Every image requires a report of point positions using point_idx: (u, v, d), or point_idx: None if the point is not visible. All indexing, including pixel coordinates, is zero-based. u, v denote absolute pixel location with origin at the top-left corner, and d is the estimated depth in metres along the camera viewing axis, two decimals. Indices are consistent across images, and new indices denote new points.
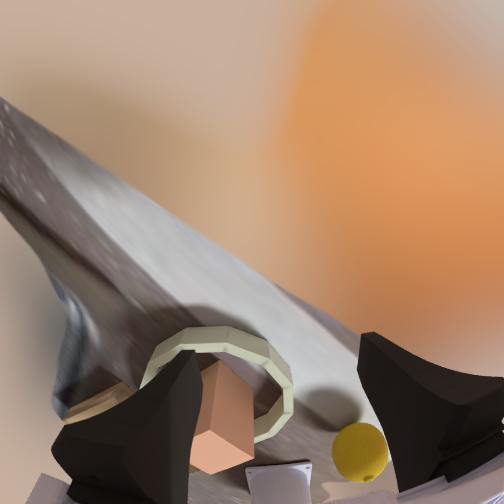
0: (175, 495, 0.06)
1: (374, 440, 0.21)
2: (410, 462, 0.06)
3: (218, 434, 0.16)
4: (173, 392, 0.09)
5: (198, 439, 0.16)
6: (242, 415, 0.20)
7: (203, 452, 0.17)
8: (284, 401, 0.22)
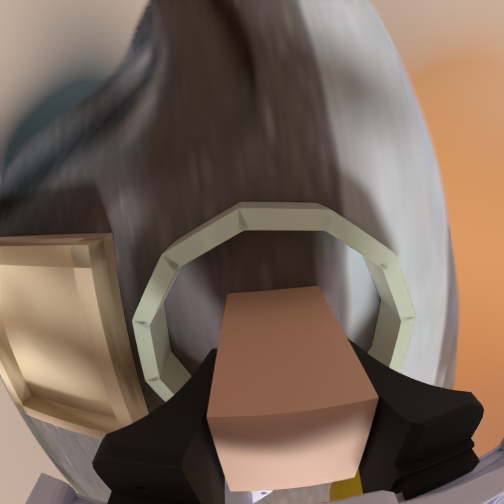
0: (217, 498, 0.06)
1: None
2: (373, 474, 0.06)
3: (372, 414, 0.07)
4: None
5: (325, 415, 0.06)
6: None
7: (291, 449, 0.07)
8: None
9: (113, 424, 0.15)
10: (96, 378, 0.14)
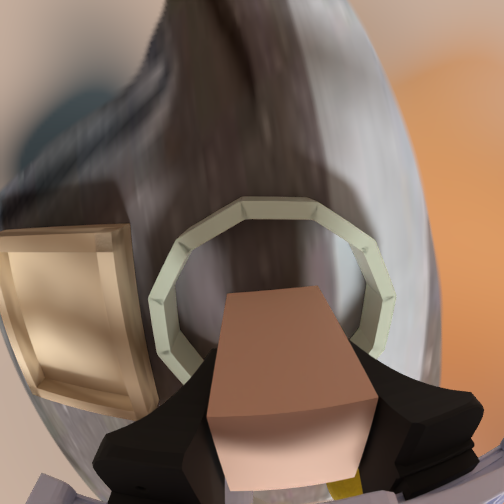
0: (217, 498, 0.06)
1: None
2: (373, 474, 0.06)
3: (372, 414, 0.07)
4: None
5: (325, 415, 0.06)
6: None
7: (291, 448, 0.07)
8: None
9: (124, 401, 0.17)
10: (110, 357, 0.17)
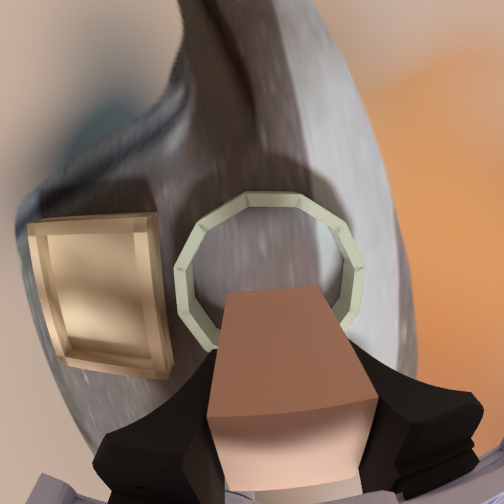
0: (217, 498, 0.06)
1: None
2: (373, 474, 0.06)
3: (372, 414, 0.07)
4: None
5: (326, 415, 0.06)
6: None
7: (291, 449, 0.07)
8: None
9: (144, 363, 0.22)
10: (135, 323, 0.22)
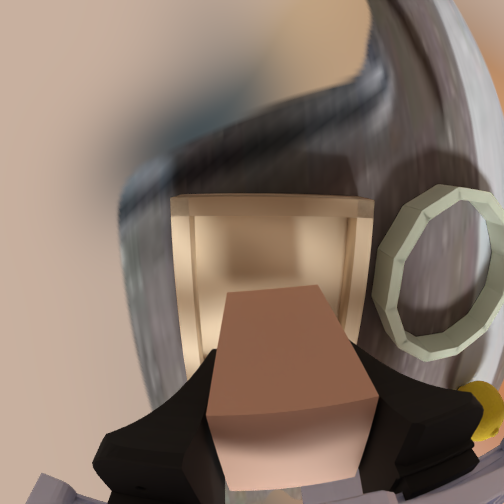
0: (217, 498, 0.06)
1: None
2: (372, 474, 0.06)
3: (372, 413, 0.07)
4: None
5: (326, 414, 0.06)
6: None
7: (291, 448, 0.07)
8: (492, 311, 0.17)
9: None
10: None
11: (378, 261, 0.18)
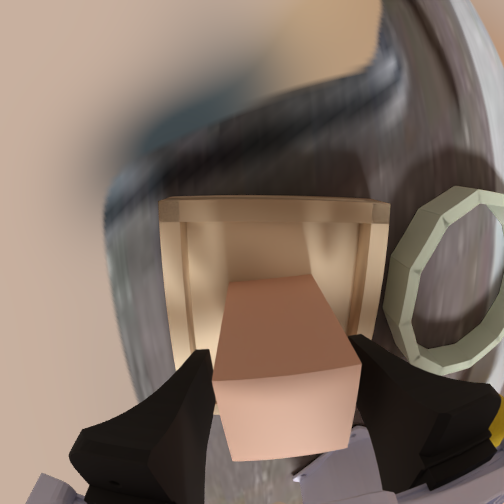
0: (194, 497, 0.06)
1: None
2: (394, 468, 0.06)
3: (358, 381, 0.08)
4: (191, 392, 0.08)
5: (315, 379, 0.08)
6: None
7: (287, 413, 0.08)
8: None
9: None
10: None
11: (390, 270, 0.16)
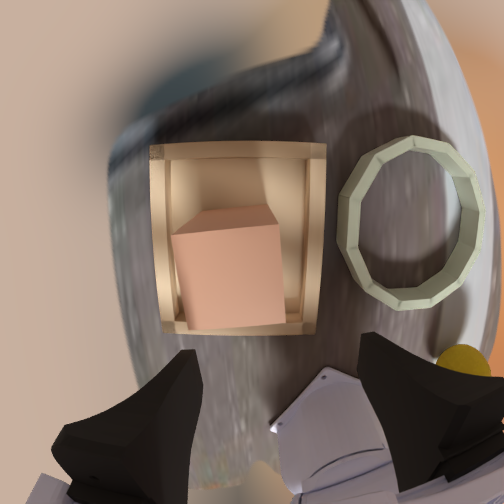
0: (175, 495, 0.06)
1: None
2: (411, 462, 0.06)
3: (280, 243, 0.12)
4: (173, 392, 0.09)
5: (244, 235, 0.12)
6: None
7: (226, 270, 0.12)
8: (466, 264, 0.19)
9: (286, 317, 0.21)
10: None
11: (339, 206, 0.20)
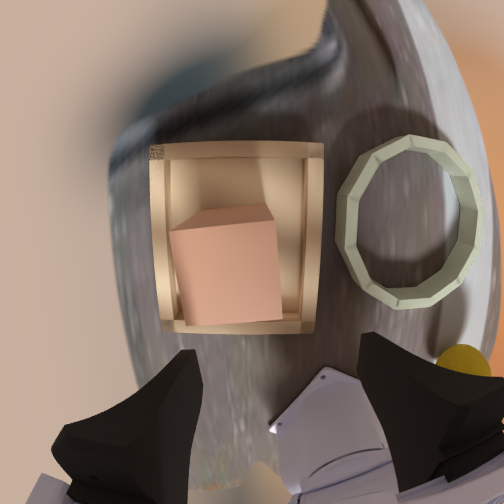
0: (175, 495, 0.06)
1: (485, 359, 0.19)
2: (410, 462, 0.06)
3: (276, 239, 0.12)
4: (173, 392, 0.09)
5: (241, 231, 0.12)
6: None
7: (223, 265, 0.12)
8: (465, 264, 0.19)
9: (285, 316, 0.21)
10: (280, 268, 0.21)
11: (337, 206, 0.20)
